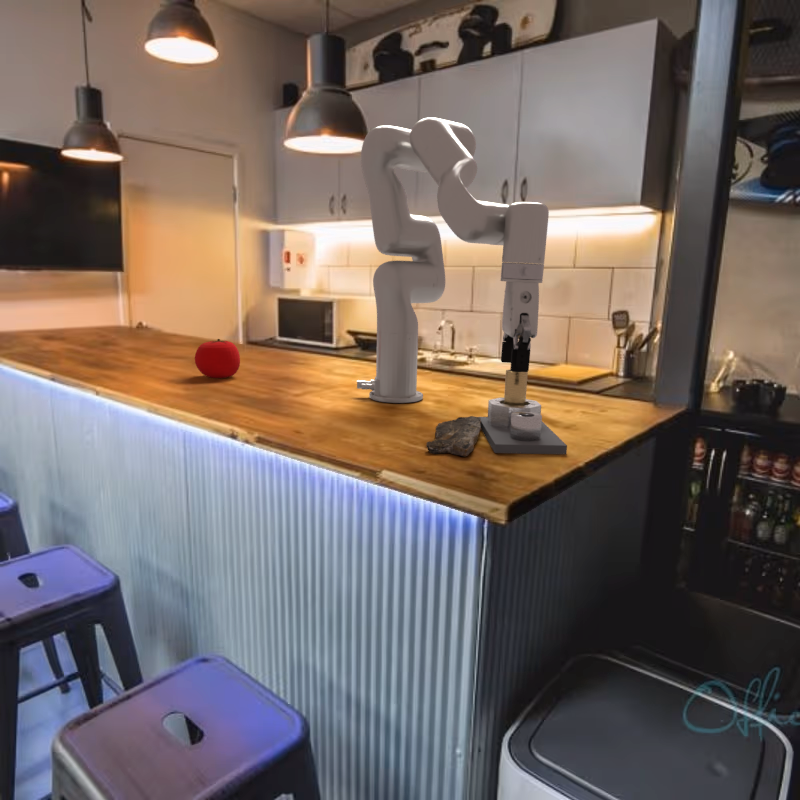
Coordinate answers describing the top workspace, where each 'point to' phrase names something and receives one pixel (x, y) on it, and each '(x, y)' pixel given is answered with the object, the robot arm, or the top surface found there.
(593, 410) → the top surface
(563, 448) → the fitting board
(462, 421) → the rock
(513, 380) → the brass nipple
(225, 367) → the tomato
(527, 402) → the sockets
